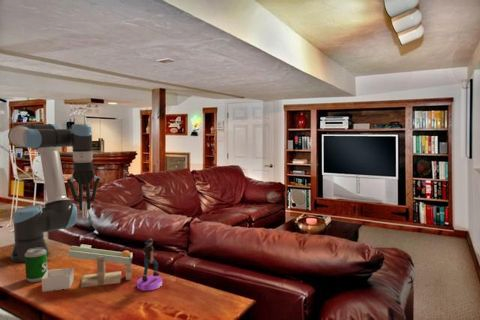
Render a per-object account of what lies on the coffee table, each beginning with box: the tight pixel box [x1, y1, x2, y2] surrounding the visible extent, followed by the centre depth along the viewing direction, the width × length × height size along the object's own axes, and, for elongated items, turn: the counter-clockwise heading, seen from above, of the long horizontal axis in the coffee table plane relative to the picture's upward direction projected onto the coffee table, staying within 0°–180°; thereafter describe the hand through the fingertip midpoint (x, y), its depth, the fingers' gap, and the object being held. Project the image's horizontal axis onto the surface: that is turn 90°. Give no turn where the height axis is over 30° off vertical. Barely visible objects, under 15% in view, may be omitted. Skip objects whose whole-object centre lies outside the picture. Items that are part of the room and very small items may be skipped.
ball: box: [121, 250, 131, 258], centre depth 141 cm, size 4×4×4 cm
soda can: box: [24, 247, 49, 283], centre depth 141 cm, size 8×8×12 cm
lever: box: [67, 243, 133, 266], centre depth 143 cm, size 14×23×3 cm, turn 106°
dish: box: [41, 267, 75, 293], centre depth 135 cm, size 8×9×5 cm
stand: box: [80, 256, 132, 288], centre depth 139 cm, size 8×18×11 cm, turn 106°
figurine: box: [136, 237, 163, 291], centre depth 135 cm, size 9×9×18 cm
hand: (85, 217), depth 149 cm, fingers closed
